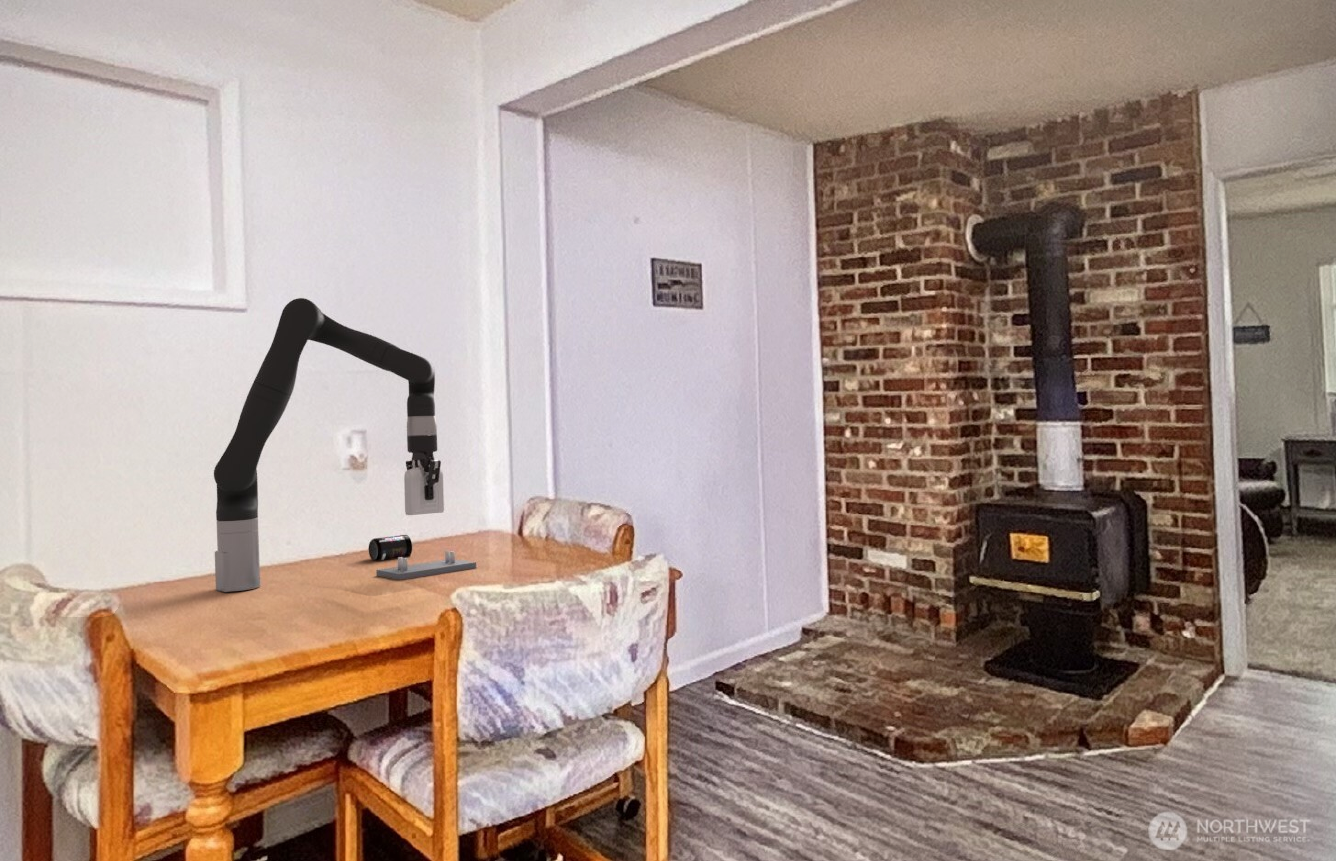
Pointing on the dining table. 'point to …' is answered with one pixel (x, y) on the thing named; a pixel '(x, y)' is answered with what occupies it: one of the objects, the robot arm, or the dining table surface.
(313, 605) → the dining table surface
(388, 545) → the supplement container
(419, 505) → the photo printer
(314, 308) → the robot arm
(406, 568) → the pin dock
